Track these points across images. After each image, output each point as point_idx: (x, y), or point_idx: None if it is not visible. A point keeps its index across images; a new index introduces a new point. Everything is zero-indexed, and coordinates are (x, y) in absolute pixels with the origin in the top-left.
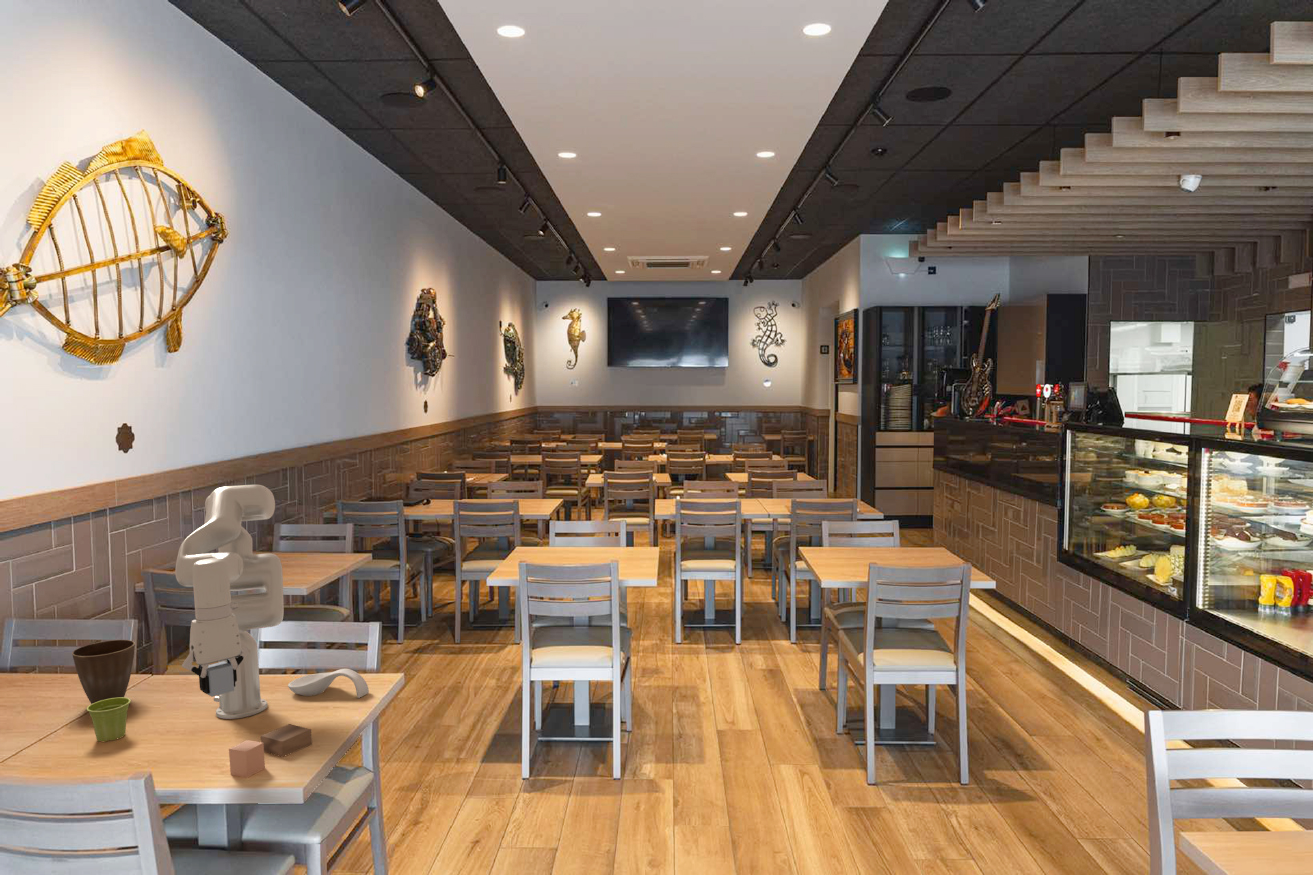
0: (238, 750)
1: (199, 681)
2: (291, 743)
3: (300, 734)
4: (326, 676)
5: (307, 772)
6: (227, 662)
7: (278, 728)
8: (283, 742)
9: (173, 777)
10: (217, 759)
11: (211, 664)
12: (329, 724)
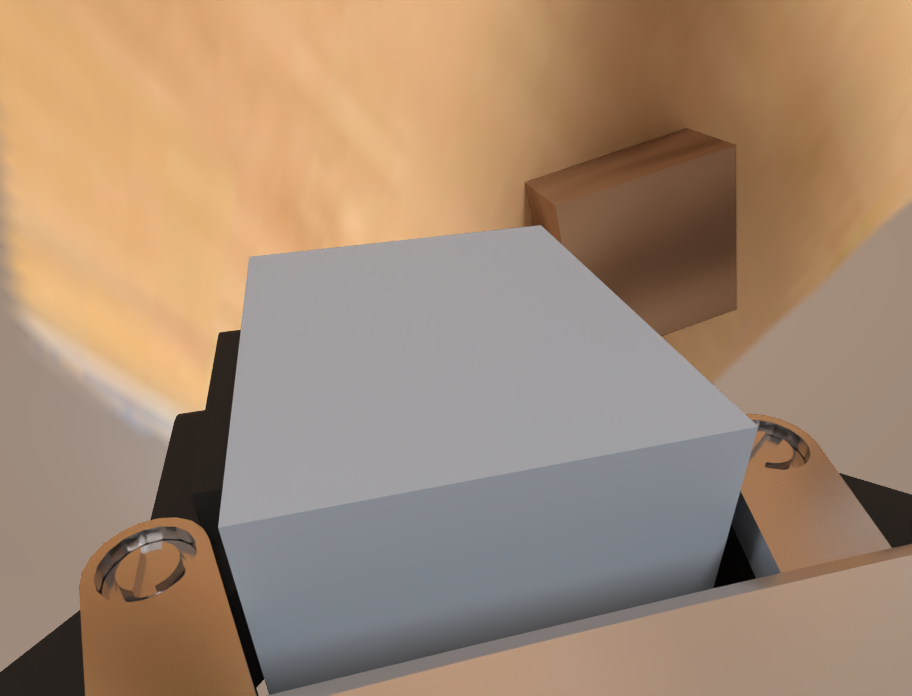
0: None
1: (161, 491)
2: None
3: (677, 326)
4: None
5: None
6: (741, 513)
7: (665, 169)
8: None
9: (54, 196)
10: (316, 118)
11: (468, 483)
12: (881, 96)
